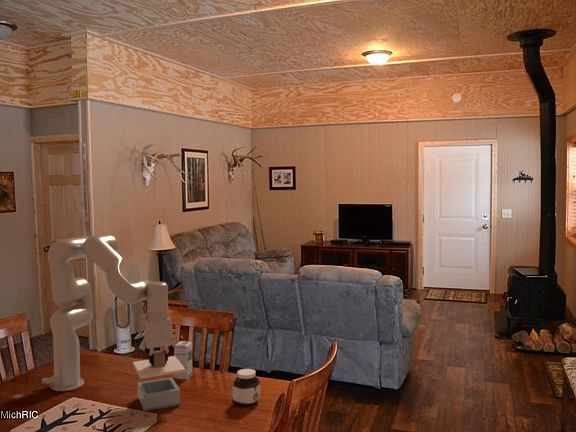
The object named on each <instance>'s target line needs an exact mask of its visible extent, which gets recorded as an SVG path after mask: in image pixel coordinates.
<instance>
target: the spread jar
mask: <svg viewBox="0 0 576 432" xmlns="http://www.w3.org/2000/svg"><path fill="white" fill-rule="evenodd" d="M236 374H237V375H236V376H237V377H235V379H234V380H233V382H232V383H233V384H232V400H233V401H234V402H235V403H236V404H238V405H239V406H243V407H250V406H253V405H255V404H256V403H257V402H258V401H259V399H260V397H261V381H260V380H259V378H258V377H257V375H256V370H255V369H252V368H242V369H239V370H237V372H236Z"/></svg>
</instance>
